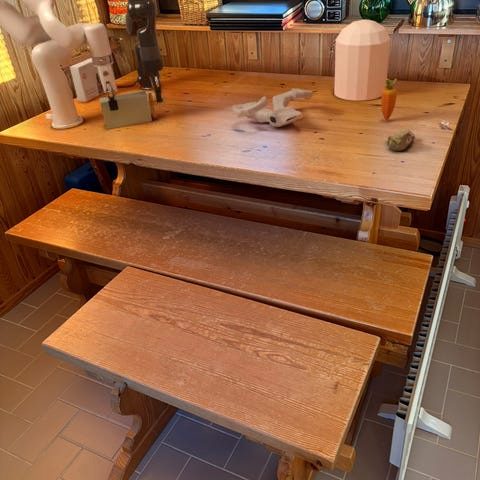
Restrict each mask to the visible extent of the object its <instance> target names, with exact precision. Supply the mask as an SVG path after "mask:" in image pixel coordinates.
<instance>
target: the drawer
mask: <svg viewBox="0 0 480 480" xmlns="http://www.w3.org/2000/svg"><path fill="white" fill-rule="evenodd" d="M147 96H148V102H149V107H150V112H151V116H152V119H156V118H157V112H156V107H155V106H156V105H162V104H163V105H168V101H167V99H166V97H162V101H163V102H158V103H157V100H156V99H155V100H154V96H153V94H152V92H147Z"/></svg>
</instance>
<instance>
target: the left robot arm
mask: <svg viewBox="0 0 480 480" xmlns="http://www.w3.org/2000/svg"><path fill="white" fill-rule="evenodd" d="M20 1H21V2H22V3H23V4H24V5H25V6H26V7H27V8H29V10H31V11H32V12H33V13H35V15H29V16H25V15H24V14H22V13H21V12H20V11H19V10H18V9H17V8H16V7H15V6H14V5H13V4H11V3H10V2H9V1H6V0H0V26H1V27H2V29H3V30H4V31H6V33H8V34H9V35H10V37H11V38H13V39H14V40H15V41H16V42H17V44H19V45H20V46H22V47H25V48H29V47H33V46H34V47H33V48H32V51H31V61H32V63H33V65H34V67H35V69H36V71H37V73H38V75H39V78H40V80H41V83H42V87H43V89H44V92H45V95H46V98H47V101H48V105H49V107H50V111H51V113H46V114H45V119H46V121H52V122H51V126H52V128H54V129H58V130H63V129H69V128H70V129H71V128H75V127H76V126H79V125H81V124H82V123H83V122H84V118H83V116H81V115H79V114H78V111H77V107H76V104H75V100H74V97H73V93H72V90H71V86H70V83H69V80H68V78H67V75H66V74H65V71H64V69H62V67H61V66H62V65H64V64H67V63H68V62H69V61H70V60H71V59H72V57H73V55H74V54H73V53H74V52H73V51H75V50H77V49H80V48H82V47H84V46H88V50H89V54H90V58H92V62H93V66H95V67H97V68H98V72H99V76H100V80H101V83H102V86H103V89H104V92H105V93H104V94H106V97H108V103H109V107H110V111H114V110H118V109H119V108H118V104H117V100H116V98H115V96H117V95H116V94H115V92H118V87H117V86H118V85H117V81H116V78H115V77H116V76H115V72H114V70H113V66H112V65H113V64H114V57H113V54H112V49H111V46H110V40H109V36H108V31H107V28H106V25H105V24H104V23H101V22H98V23H97V22H95V23H87V22H78V23H75V24H71V25H69V26H66V24H64V23H63V22H61V20H59V19H58V17H57V16H56V15H55V13H54V11H53V9H54V7H55V0H20ZM35 45H36V46H35ZM109 98H110V99H109Z"/></svg>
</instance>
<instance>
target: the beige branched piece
mask: <svg viewBox="0 0 480 480" xmlns="http://www.w3.org/2000/svg"><path fill="white" fill-rule="evenodd" d="M313 93H314V92H313V91H312V90H307V89H302V88H292V89H291V90H289V91H286V92H283V93H281V94H277V95H275V96H272V102H271V103H272V107H273V109H272V110H271V109H266V108H265V107H267V106H268V98H267V96H266V95H264V96H262V97H261V98H260V99H259V100H258V101H257V102H256V101H251V102H246V103H240V104H234V105H232V106H231V107H232V108H231V109H232V112H233V113H234V115H235V116H237V118H244V117H246V118H248V119H252V120H257V122H259V123H269V124H270V126H272V127H274V128H280V127H284V126H287V125H290V124H294V123H296V121H298V120H301V119H302V112H301V111H300V110H297V109H295V108H294V107H291V106H288V105H289V103H290V102H292V101H299V100H308V101H310V100H311V99H312V97H313Z"/></svg>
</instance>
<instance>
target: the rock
mask: <svg viewBox="0 0 480 480" xmlns="http://www.w3.org/2000/svg"><path fill="white" fill-rule="evenodd" d="M415 139H416V135H415V134H414V132H412V131H411V130H408V129H407V130H404V131H398V132H396V133H394V134H393V135H392V134H391V135H389V136H388V137H387V143H388V145H387V146H388V147H389V149H391V150H392V151H395V152H404V151H406V150H407V148H409V145H410V144H411V143H412V142H413V141H414V140H415Z"/></svg>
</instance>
